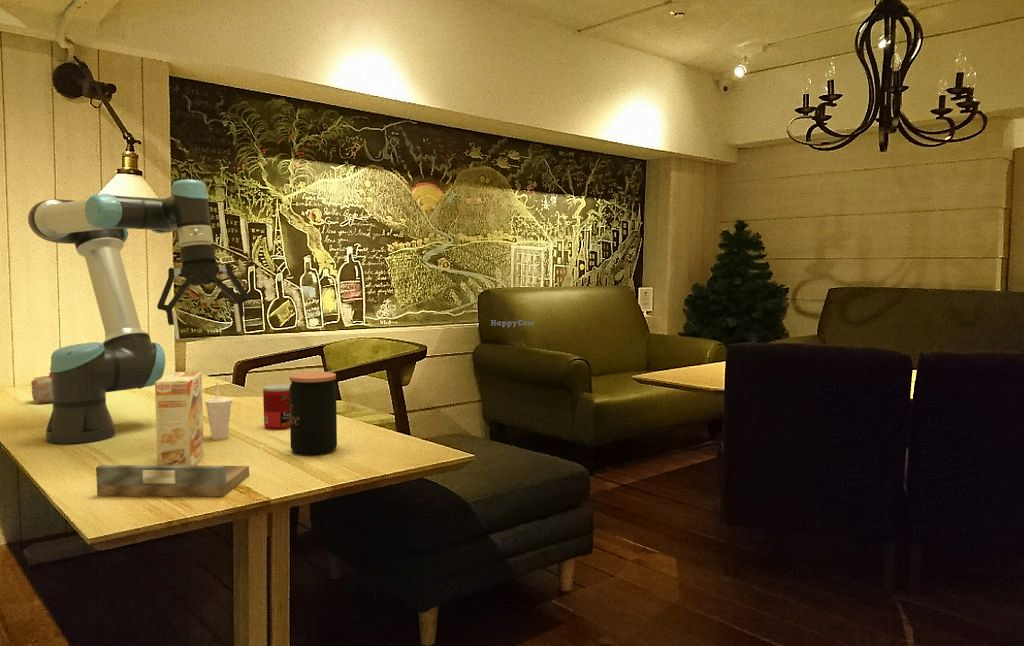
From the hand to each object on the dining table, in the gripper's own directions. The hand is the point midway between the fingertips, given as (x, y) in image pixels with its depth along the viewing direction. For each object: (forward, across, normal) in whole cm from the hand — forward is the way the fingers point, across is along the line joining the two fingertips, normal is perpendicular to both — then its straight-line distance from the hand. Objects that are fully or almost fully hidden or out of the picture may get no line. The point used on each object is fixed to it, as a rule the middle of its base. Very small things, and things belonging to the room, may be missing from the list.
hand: (208, 335), depth 177 cm
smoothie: (+25, 0, +15) cm, 29 cm away
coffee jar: (+31, +19, -7) cm, 37 cm away
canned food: (+26, +16, +22) cm, 37 cm away
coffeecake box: (+28, -9, -7) cm, 30 cm away
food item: (+10, -42, +87) cm, 97 cm away
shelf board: (+30, -11, -24) cm, 40 cm away
